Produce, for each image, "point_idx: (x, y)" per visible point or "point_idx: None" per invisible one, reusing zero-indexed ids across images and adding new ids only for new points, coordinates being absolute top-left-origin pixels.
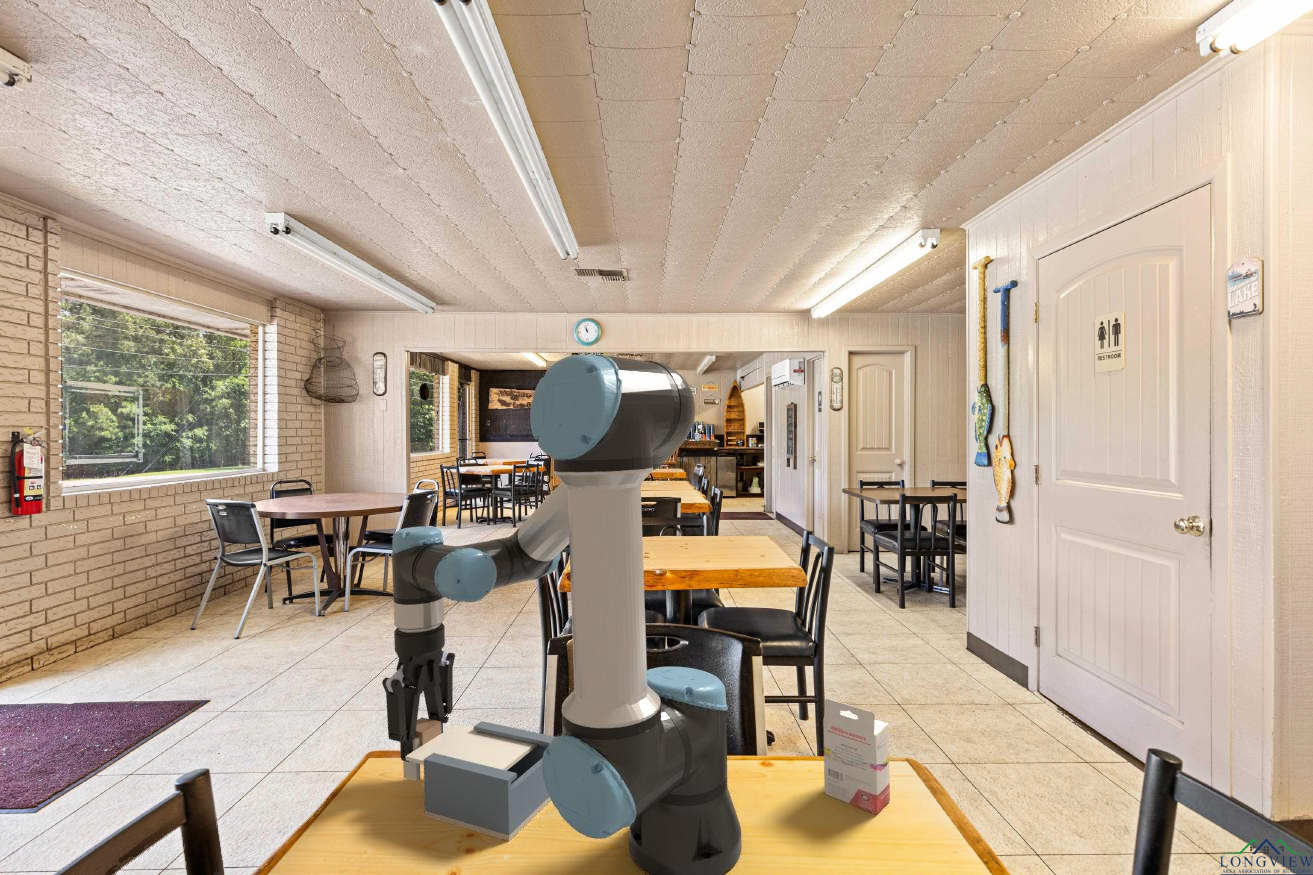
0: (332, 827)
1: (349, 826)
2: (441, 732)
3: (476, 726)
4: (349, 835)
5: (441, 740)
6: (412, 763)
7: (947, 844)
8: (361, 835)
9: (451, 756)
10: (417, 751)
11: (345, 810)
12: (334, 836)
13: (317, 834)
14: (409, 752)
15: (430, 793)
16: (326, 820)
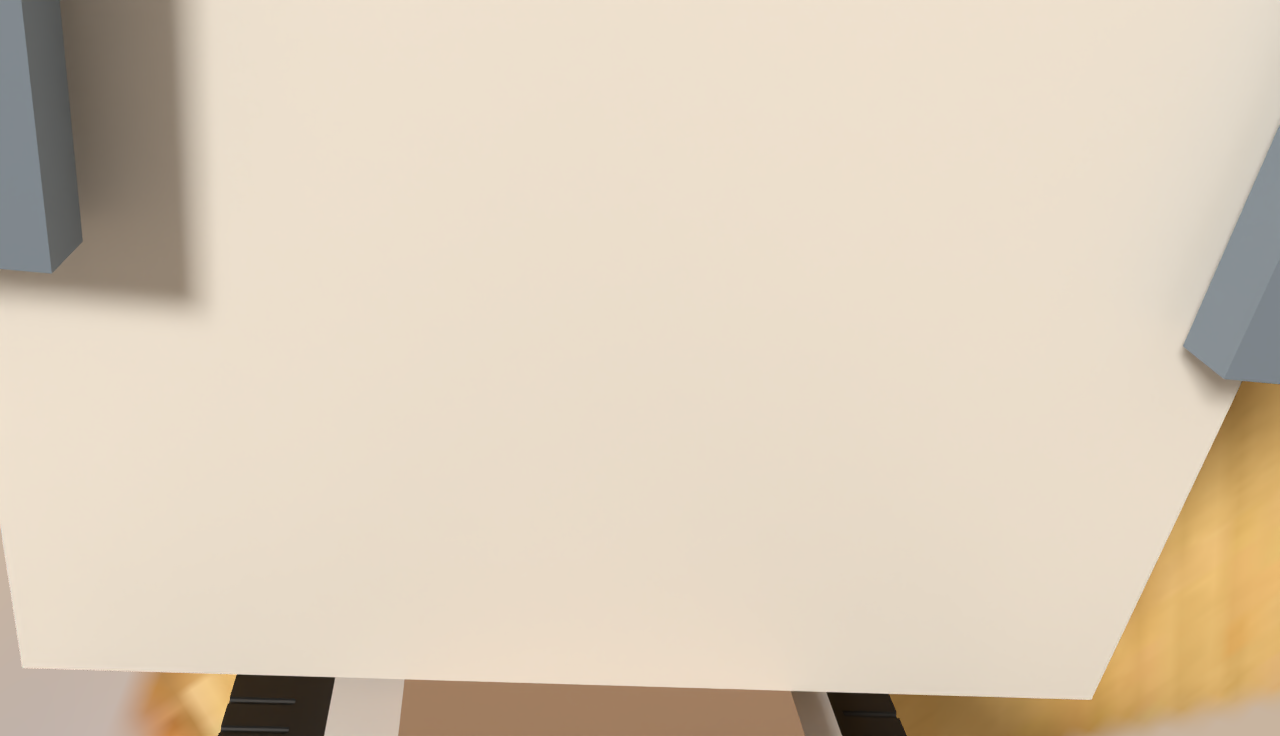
0: (1164, 648)
1: (1155, 568)
2: (262, 716)
3: (21, 205)
4: (1254, 503)
5: (592, 556)
6: None
7: None
8: (1259, 433)
9: (1086, 82)
10: (956, 650)
11: (981, 703)
12: (1259, 577)
13: (1233, 672)
14: (871, 730)
15: None
16: (1092, 723)
